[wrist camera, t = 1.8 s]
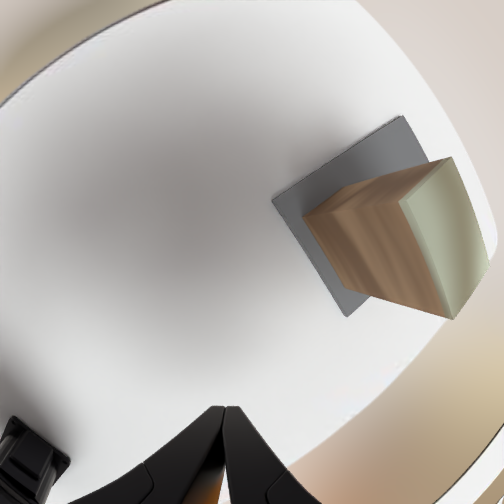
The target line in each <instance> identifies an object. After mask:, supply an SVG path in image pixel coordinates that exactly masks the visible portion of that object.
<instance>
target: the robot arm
mask: <svg viewBox="0 0 504 504" xmlns="http://www.w3.org/2000/svg"><path fill="white" fill-rule="evenodd" d="M70 463H71V461H70V459H69V458H68V457H66V456H65V455H63V454H62V453H60V452H59V451H58V450H56V449H55V448H53V447H52V446H51V445H49V444H48V443H47V442H45V441H44V440H43V439H41V438H40V437H39V436H38V435H36V434H35V433H34V432H33V431H31V430H30V429H29V428H28V427H27V426H26V425H24V424H23V423H22V422H21V421H20V420H19V419H17V418H16V417H15V416H11V418H10V419H9V421H8V423H7V426H6V428H5V430H4V433H3V435H2V438H1V440H0V504H45V503H46V500H47V497H48V495H49V492H50V490H51V487H52V486H53V485H54V484H55V483H56V481H57V480H58V479H59V478H60V476H61V475H62V474H63V473H64V472H65V470H66V469H67V468H68V467H69V465H70ZM143 463H144V464H143ZM143 463H140V464H139V465H137V466H136V467H135V468H133V469H132V470H130V471H129V472H127V473H126V474H124V475H123V476H121V477H120V478H118V479H117V480H115V481H113V482H111V483H109V484H108V485H106V486H104V487H102V488H100V489H98V490H96V491H94V492H92V493H90V494H88V495H86V496H83V497H81V498H79V499H77V500H75V501H72V502H70V503H68V504H218V500H219V495H220V490H221V486H222V481H223V476H224V471H225V466H226V474H227V481H228V488H229V495H230V502H231V504H322V503H321V502H319V501H318V500H317V499H316V498H315V497H314V496H312V495H311V494H310V493H309V492H308V491H307V490H306V489H305V488H304V487H303V486H302V485H301V484H300V483H299V482H298V481H297V480H296V478H295V477H294V476H293V475H292V474H291V473H290V471H288V470H287V468H286V467H285V466H284V464H283V463H282V462H281V461H280V460H279V458H278V457H277V456H276V455H275V453H274V452H273V451H272V449H271V448H270V447H269V446H268V444H267V443H266V442H265V440H264V439H263V438H262V436H261V435H260V434H259V432H258V431H257V430H256V428H255V427H254V426H253V424H252V423H251V422H250V420H249V419H248V417H247V416H246V415H245V413H244V412H243V410H242V409H241V408H240V407H239V406H227V407H226V408H225V407H224V406H211V407H210V408H208V409H207V410H206V411H205V412H204V413H203V414H202V415H200V416H199V417H198V418H197V419H196V420H195V421H193V422H192V423H191V424H190V425H189V426H187V427H186V428H185V429H184V430H183V431H181V432H180V433H179V434H178V435H177V436H175V437H174V438H173V439H172V440H170V441H169V442H168V443H167V444H165V445H164V446H163V447H162V448H160V449H159V450H158V451H156V452H155V453H154V454H153V455H151V456H150V457H149V458H147V459H146V460H145V461H144V462H143Z"/></svg>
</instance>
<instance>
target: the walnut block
mask: <svg viewBox="0 0 504 504" xmlns="http://www.w3.org/2000/svg"><path fill="white" fill-rule="evenodd" d="M302 218H303V220H304V222H305V223H306V225H307V226H308V228H309V229H310V231H311V233H312V234H313V236H314V237H315V239H316V241H317V242H318V244H319V246H320V247H321V249H322V250H323V252H324V254H325V255H326V257H327V259H328V260H329V262H330V264H331V265H332V267H333V269H334V270H335V272H336V274H337V275H338V277H339V279H340V280H341V282H342V284H343V286H344V287H345V288H346V289H349V290H353V291H356V292H359V293H363V294H366V295H369V296H373V297H376V298H380V299H383V300H386V301H390V302H393V303H396V304H400V305H403V306H407V307H410V308H414V309H417V310H420V311H424V312H427V313H431V314H434V315H438V316H441V317H444V318H448V319H451V320H454V318H455V317H456V316H457V314H458V313H459V312H460V310H461V309H462V307H463V306H464V305H465V303H466V302H467V300H468V299H469V297H470V296H471V294H472V293H473V292H474V290H475V289H476V287H477V285H478V284H479V282H480V281H481V279H482V278H483V276H484V274H485V273H486V271H487V269H488V268H489V266H490V263H489V259H488V255H487V252H486V248H485V244H484V241H483V238H482V234H481V231H480V228H479V225H478V222H477V219H476V216H475V213H474V210H473V207H472V204H471V202H470V199H469V196H468V194H467V191H466V189H465V186H464V184H463V181H462V179H461V176H460V174H459V172H458V170H457V167H456V165H455V163H454V161H453V159H452V157H448V158H444V159H440V160H437V161H433V162H429V163H425V164H422V165H418V166H414V167H411V168H407V169H404V170H400V171H396V172H393V173H389V174H386V175H382V176H379V177H375V178H372V179H369V180H365V181H362V182H358V183H355V184H352V185H348V186H345V187H343V188H341V189H340V190H338V191H337V192H336V193H334V194H333V195H332V196H330V197H329V198H328V199H326V200H325V201H324V202H322V203H321V204H319V205H318V206H317V207H315V208H314V209H313V210H311V211H310V212H309V213H307V214H306V215H304V216H303V217H302Z"/></svg>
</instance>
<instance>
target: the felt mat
mask: <svg viewBox="0 0 504 504" xmlns="http://www.w3.org/2000/svg"><path fill="white" fill-rule="evenodd" d="M425 163H429V161H428V159H427V157H426V155H425V153H424V151H423V149H422V147H421V145H420V144H419V142H418V140H417V138H416V136H415V135H414V133H413V131H412V129H411V128H410V126H409V124H408V122H407V121H406V119H405V117H404V116H401V117H399V118H397V119H396V120H394V121H392V122H391V123H389V124H388V125H386V126H384V127H383V128H381V129H380V130H378V131H377V132H375V133H373V134H372V135H370V136H369V137H367V138H366V139H364V140H362V141H361V142H359V143H358V144H356V145H355V146H353V147H352V148H350V149H348V150H347V151H345V152H344V153H342V154H341V155H339V156H338V157H336V158H335V159H333V160H332V161H330V162H329V163H327V164H326V165H324V166H322V167H321V168H319V169H318V170H316V171H315V172H313V173H312V174H310V175H309V176H307V177H306V178H304V179H303V180H302V181H300V182H299V183H297V184H296V185H294V186H293V187H291V188H290V189H288V190H287V191H285V192H284V193H282V194H281V195H279V196H278V197H276V198H275V199H274V200H272V202H273V204H274V205H275V207H276V208H277V210H278V211H279V213H280V214H281V216H282V217H283V219H284V220H285V222H286V223H287V225H288V226H289V228H290V230H291V231H292V233H293V234H294V236H295V237H296V239H297V240H298V242H299V243H300V245H301V247H302V248H303V250H304V251H305V253H306V254H307V256H308V258H309V259H310V261H311V262H312V264H313V266H314V267H315V269H316V270H317V272H318V274H319V275H320V277H321V278H322V280H323V282H324V283H325V285H326V286H327V288H328V290H329V291H330V293H331V295H332V296H333V298H334V300H335V301H336V303H337V305H338V306H339V308H340V310H341V311H342V313H343V315H344V316H346V317H348V316H350V315H351V314H352V313H353V312H354V311H355V310H356V309H357V308H358V307H359V306H361V305H362V304H363V303H364V302H365V301H366V300H367V299H368V298H369V297H370V296H369V295H366V294H363V293H359V292H356V291H353V290H349V289H346V288H345V287H344V286H343V284H342V282H341V280H340V279H339V277H338V275H337V274H336V272H335V270H334V269H333V267H332V265H331V264H330V262H329V260H328V259H327V257H326V255H325V254H324V252H323V250H322V249H321V247H320V246H319V244H318V242H317V241H316V239H315V237H314V236H313V234H312V233H311V231H310V229H309V228H308V226H307V225H306V223H305V222H304V220H303V218H302V217H303V216H304V215H306V214H307V213H309V212H310V211H311V210H313V209H314V208H315V207H317V206H318V205H319V204H321V203H322V202H324V201H325V200H326V199H328V198H329V197H330V196H332V195H333V194H334V193H336V192H337V191H338V190H340V189H341V188H343V187H345V186H348V185H352V184H355V183H358V182H362V181H365V180H369V179H372V178H375V177H379V176H382V175H386V174H389V173H393V172H396V171H400V170H404V169H407V168H411V167H414V166H418V165H422V164H425Z"/></svg>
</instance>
